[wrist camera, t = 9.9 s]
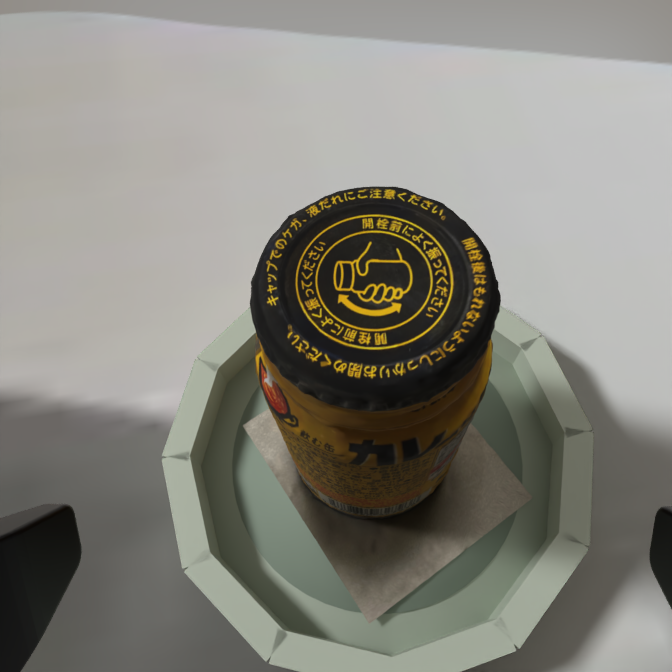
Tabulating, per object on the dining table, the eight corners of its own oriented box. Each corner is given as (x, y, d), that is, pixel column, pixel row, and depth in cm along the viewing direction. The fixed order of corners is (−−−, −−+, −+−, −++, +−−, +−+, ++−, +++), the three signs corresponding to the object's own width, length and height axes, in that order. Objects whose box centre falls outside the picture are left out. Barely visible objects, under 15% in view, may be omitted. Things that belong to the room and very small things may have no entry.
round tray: (650, 593, 21) (679, 590, 19) (234, 747, 19) (218, 760, 17) (475, 253, 27) (483, 224, 25) (155, 352, 26) (137, 329, 24)
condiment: (392, 330, 25) (407, 106, 14) (531, 499, 22) (690, 375, 11) (243, 427, 23) (133, 259, 13) (369, 624, 20) (365, 625, 9)
